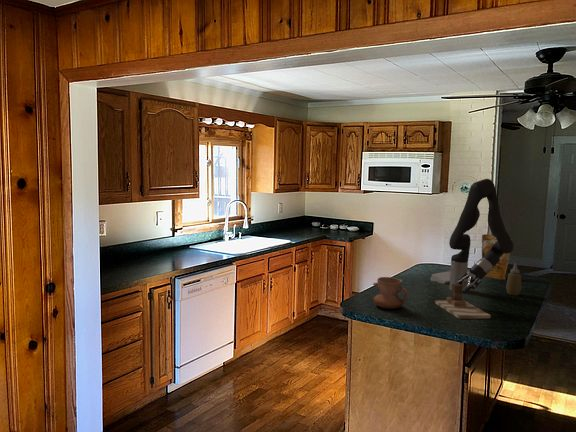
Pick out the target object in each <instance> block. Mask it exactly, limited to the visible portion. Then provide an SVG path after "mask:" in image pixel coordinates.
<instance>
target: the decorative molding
mask: <svg viewBox="0 0 576 432" xmlns="http://www.w3.org/2000/svg"><path fill="white" fill-rule="evenodd" d="M450 272H451V270H449V271H442V272H436V273H432V274H431V277H430V280H431V282H436V283H439V284H442V285H445V284H450ZM469 273H470V270H467V274H469Z"/></svg>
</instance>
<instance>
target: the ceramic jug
mask: <svg viewBox="0 0 576 432" xmlns="http://www.w3.org/2000/svg"><path fill="white" fill-rule="evenodd" d="M376 281H377V282H373V283H372V285H373V286H376V287H377V288H378V289H379V293H378V294H377V295H375V296H373V297H372V298H373V299H372V300H373V303H374V304H375V305H376V306H377V307H378V308H381V309H385V310H395V309H400V308H401V307H402V306H403V305H404V304H405V301H406V300H407V298H408V296H409V295H408V294H409V292H408V289H406V288H405V287H402V283H403V280H402V279H400V278H397V277H393V276H392V277H391V276H381V277H377V280H376ZM401 291H403V292H404V296H403V299H402V298H401V297H400V296H399V295H398V294H399V293H400V292H401Z"/></svg>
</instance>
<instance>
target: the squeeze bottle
mask: <svg viewBox="0 0 576 432" xmlns="http://www.w3.org/2000/svg"><path fill="white" fill-rule="evenodd" d="M505 288H506V293H507V294H508V295H510V296H519V295H520V293H521V291H522V275H521V273H520V269H518V263H516V262H515V263H514V264H513V267H512V268H510V272H508V275H507V281H506V285H505Z"/></svg>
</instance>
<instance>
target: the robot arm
mask: <svg viewBox="0 0 576 432" xmlns="http://www.w3.org/2000/svg"><path fill="white" fill-rule="evenodd" d="M486 198H487V199H486ZM483 199H486V200H487V202H488V203H487V204H488V213H487V224H488V227H489V230H490V232H491V235H493V236H494V237H496V239H497V242H496V243H495V244H494V245H493V246H492V248H491V249H490V250H489V252H488V253H487V254H486V255H485V256H484V257H483V258H482V257H481V258H480V259H479V260H478V261H477V262H475V264H473V265H472V266H471V267H470V268H469V272H470V273H469V274H467V271H468V266H469V258H470V257H469V256H470V249H471V242H472V241H471V236H470V235H469V233H468V234H467V232H468V231H470V230H471V229H473V228H475V226H476V225H477V224H478V221H479V219H480V215H481V214H480V209H479V203H480V202H481V201H482V200H483ZM511 239H512V237H511V236H510V235H509V233H508V232H507V229H506V227H505V223H504V221H503V218H502V215H501V210H500V206H499V199H498V194H497V189H496V186H495V183H494V181H492V180H491V178H484V179H481V180H478V181H475V182H474V183H472V184H471V186H470V187H469V191H468V195H467V198H466V201H465V205H464V206H463V210H462V211H461V214H460V217H459V219H458V222H457V225H456V226H455V228H454V230H453V232H452V234H451V235H450V238H449V240H448V243H449V248H451V249H452V250H456V251H457V250H459V251H460V252H458V253H456V254H453V255H451V259H450V260H451V262H450V271H451V272H450V283H449V287H448V289H449V290H450V291H452V284H460V285H462V294H463V295H466V294H467V293H468V292H469V291H470V290H475V289H476V288H477V287H478V286H479V285H480V284H482V280H483V279H484V278H486V277H485V276H486V275H487V274H488V273H489V272H490V271H491V269H492V268H493V267H494V266H495V265H496V264H497V263H498V262H499V261H500V257H501V256H502V255H503V254H504V253H506V254H507V253H510V254H511V253H512V252H513V250H514V248H515V245H514V243H513V239H512V240H511Z"/></svg>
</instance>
